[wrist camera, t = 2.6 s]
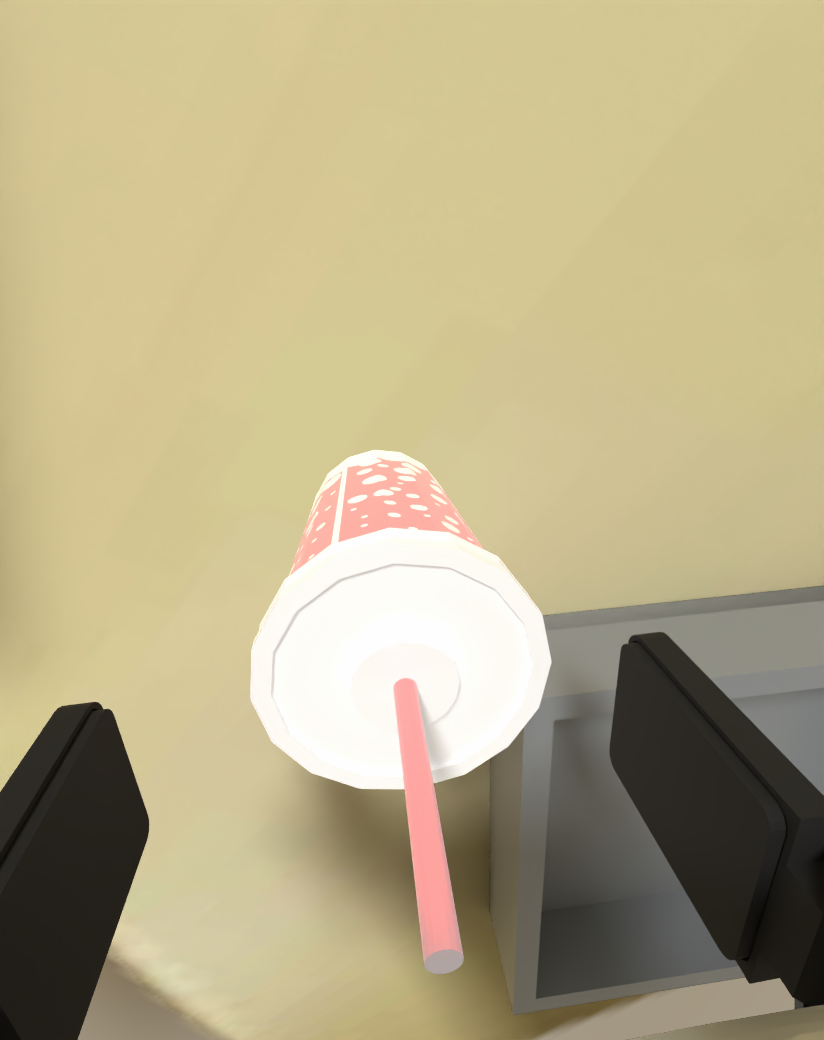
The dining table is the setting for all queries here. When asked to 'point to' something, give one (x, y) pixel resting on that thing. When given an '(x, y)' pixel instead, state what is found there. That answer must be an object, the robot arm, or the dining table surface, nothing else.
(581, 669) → the box
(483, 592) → the beverage cup
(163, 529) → the dining table surface
